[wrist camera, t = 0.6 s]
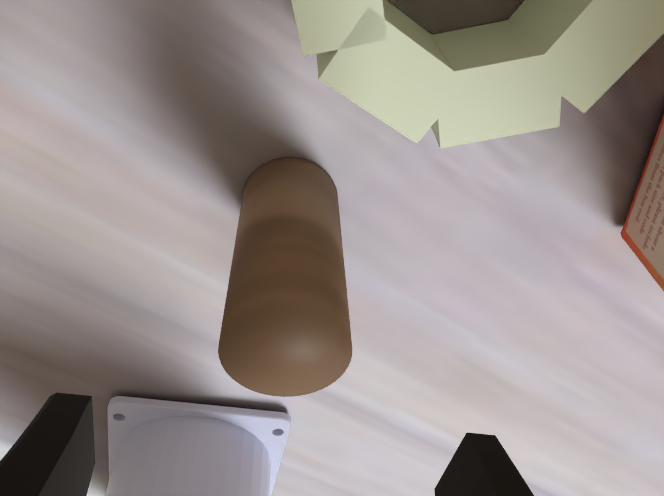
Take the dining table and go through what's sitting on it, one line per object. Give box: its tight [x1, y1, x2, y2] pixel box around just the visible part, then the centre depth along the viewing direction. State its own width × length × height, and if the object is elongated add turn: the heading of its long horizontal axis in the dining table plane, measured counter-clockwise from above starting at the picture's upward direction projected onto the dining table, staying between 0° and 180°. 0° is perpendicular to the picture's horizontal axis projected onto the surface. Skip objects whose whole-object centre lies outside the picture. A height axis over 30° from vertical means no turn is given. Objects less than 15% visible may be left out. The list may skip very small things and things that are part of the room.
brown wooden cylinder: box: [218, 157, 352, 397], centre depth 16 cm, size 3×3×7 cm
